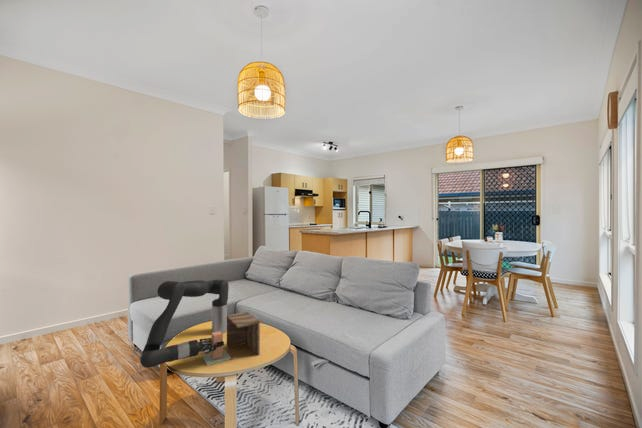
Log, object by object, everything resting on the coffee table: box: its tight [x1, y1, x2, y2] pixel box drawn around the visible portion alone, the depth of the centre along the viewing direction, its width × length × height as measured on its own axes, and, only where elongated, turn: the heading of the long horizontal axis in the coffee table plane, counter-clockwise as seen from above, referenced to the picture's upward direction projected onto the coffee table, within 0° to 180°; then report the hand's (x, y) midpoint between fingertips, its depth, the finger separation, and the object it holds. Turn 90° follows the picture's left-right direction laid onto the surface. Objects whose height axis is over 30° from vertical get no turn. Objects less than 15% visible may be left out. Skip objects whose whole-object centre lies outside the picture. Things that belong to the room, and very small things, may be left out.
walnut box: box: [226, 311, 261, 356], centre depth 161 cm, size 19×12×18 cm, turn 34°
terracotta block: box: [210, 331, 224, 359], centre depth 153 cm, size 4×4×12 cm
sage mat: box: [201, 349, 232, 366], centre depth 153 cm, size 11×12×1 cm
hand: (222, 341), depth 154 cm, fingers closed on terracotta block, 4 cm apart
